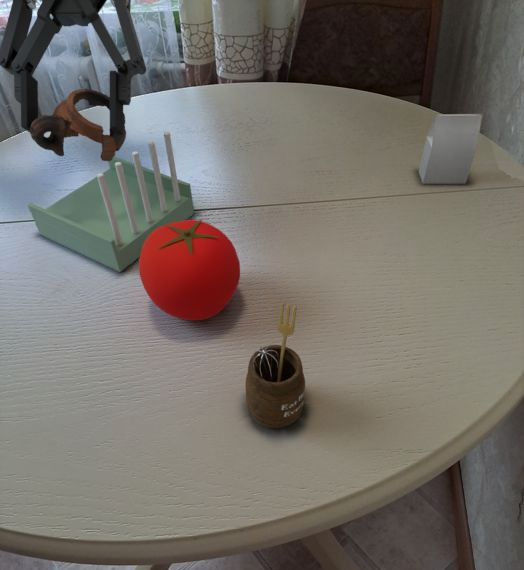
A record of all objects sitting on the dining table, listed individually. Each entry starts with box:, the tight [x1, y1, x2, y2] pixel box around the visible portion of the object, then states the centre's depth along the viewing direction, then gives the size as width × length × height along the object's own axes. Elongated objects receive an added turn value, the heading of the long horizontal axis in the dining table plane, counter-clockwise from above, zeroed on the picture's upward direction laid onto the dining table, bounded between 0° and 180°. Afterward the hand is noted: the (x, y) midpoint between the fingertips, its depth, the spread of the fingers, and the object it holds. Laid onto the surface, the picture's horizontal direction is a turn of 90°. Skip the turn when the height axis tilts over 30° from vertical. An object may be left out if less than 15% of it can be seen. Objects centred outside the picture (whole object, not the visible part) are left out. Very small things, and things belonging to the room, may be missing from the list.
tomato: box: [138, 218, 241, 321], centre depth 59 cm, size 12×12×10 cm
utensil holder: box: [245, 301, 306, 429], centre depth 48 cm, size 6×6×12 cm
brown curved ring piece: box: [29, 88, 127, 162], centre depth 65 cm, size 12×10×8 cm
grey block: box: [418, 113, 483, 185], centre depth 77 cm, size 4×7×10 cm, turn 89°
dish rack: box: [27, 131, 195, 273], centre depth 69 cm, size 16×16×13 cm
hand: (73, 130), depth 62 cm, fingers closed on brown curved ring piece, 10 cm apart
